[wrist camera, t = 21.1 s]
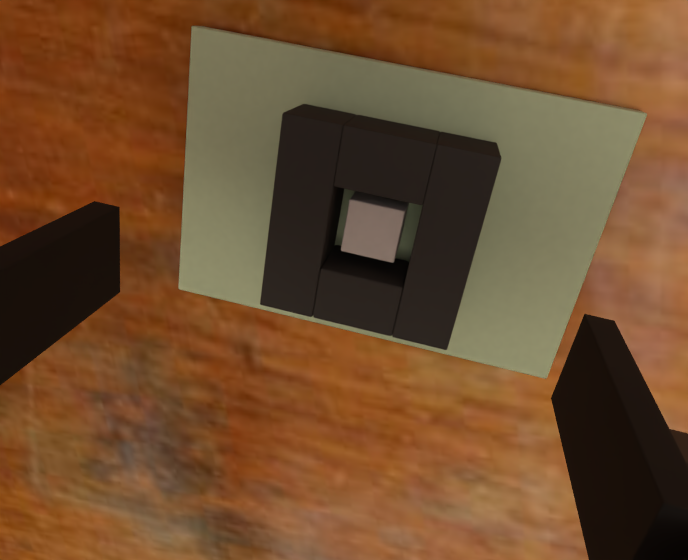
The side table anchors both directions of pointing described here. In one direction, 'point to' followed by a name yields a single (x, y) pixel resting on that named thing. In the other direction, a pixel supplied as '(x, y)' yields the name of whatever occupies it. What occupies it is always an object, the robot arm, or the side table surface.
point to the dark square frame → (386, 181)
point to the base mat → (398, 216)
